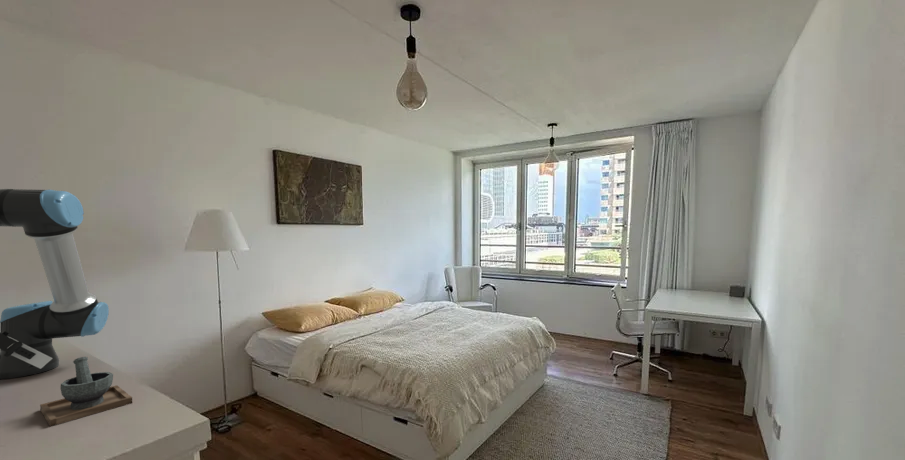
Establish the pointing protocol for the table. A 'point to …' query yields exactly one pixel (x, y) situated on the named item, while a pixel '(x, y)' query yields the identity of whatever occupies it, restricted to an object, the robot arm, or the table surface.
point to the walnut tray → (62, 413)
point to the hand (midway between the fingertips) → (38, 358)
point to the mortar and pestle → (86, 386)
